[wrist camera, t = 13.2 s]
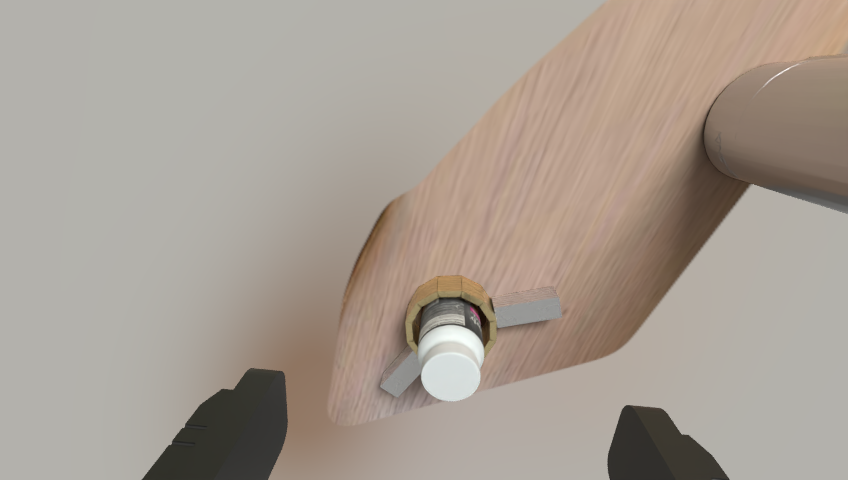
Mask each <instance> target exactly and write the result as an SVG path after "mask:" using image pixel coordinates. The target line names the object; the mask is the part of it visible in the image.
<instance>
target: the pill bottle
mask: <svg viewBox="0 0 848 480" xmlns="http://www.w3.org/2000/svg"><path fill="white" fill-rule="evenodd" d="M417 355H418V361H419V364H420V366H421V381H422V384H423V386H424V388H425V389H426V390H427V392H428V393H429V394H431V395H432V396H433V397H435V398H437V399H440V400H443V401H459V400H463V399H465V398H467V397H469V396H471V395H472V394H473V393H474V392H475V391H476V389H477V388H478V386H479V383H480V368H481V366H482V364H483V360H484V344H483V338H482V331H481V323H480V316H479V311H478V307H477V305H476V304H474V303H472V302H470V301H468V300H466V299H464V298H462V297H439V298H437V299H435V300H433V301H432V302H430V303H428V304H426V305H424V308H423V312H422V317H421V326H420V334H419V341H418V352H417Z"/></svg>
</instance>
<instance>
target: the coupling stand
mask: <svg viewBox="0 0 848 480" xmlns="http://www.w3.org/2000/svg"><path fill="white" fill-rule="evenodd" d="M439 297H462V298H464V299H466V300H468V301H470V302H472V303H474V304H476V305H478V306H480V308H481V309H482V311H483V312H484V314H485V315H486V317H487V322H486V323H485V325H484V326H483V328H482V329H481V331H482V338H483V344H484V358H485V357H486V355H487V354H488V352H489V351H490V350H491V348H492V347H493V345H494V344H495V342H496V325H497V328H501V327H507V326H513V325H519V324H525V323H531V322H538V321H544V320H550V319H556V318H562V316H561V308H560V300H559V296H558V294H557V292H556V290H555V289H554V287H553V286H550V287H545V288H539V289H533V290H527V291H522V292H516V293H510V294H504V295H499V296H493V297H491V298H492V301H491V299H490V298H489V296H488V295H487V293H486V292H485V290H484V289H483V287H482V286H481V285H479V284H477V283H475V282H473V281H471V280H469V279H467V278H465V277H463V276H437V277H435V278H434V279H432V280H430V281H428V282H426V283H425V284H423V285H421V286H419V287H418V289H417V290H416V292H415V294H414V296H413V297H412V299H411V301H410V303H409V304H408V310H407V316H406V321H405V324H406V337H407V343H408V344H409V345H408V346H407V347H406V348H405V349H404V350H403V352H402V353H401V354H400V355H399V356H398V357H397V358H396V359H395V360H394V362H393V363H392V364H391V365H390V366H389V367H388V368H387V369H386V370H385V372H384V373H383V376H382V381H381V385H380V387H381V388H382V389H384V390H386V391H387V392H389V393H390V394H392V395H393V396H395V397H397V398H398V397H399V396H400V395H401V394H402V392H403V391H404V390H405V389H406V388H407V387H408V386H409V385H410V384H411V383H412V382H413V381H414V380H415V379H416V378H417V377H418V376H419V375H420V373H421V366H420V364H419V361H418V355H417V352H418V341H419V334H420V328H419V327H418V325H417V324H416V322H415V317H416V315H417V314H418V312H419V310H420V308H421V307H422V306H424V305H426V304H428V303H430V302H432V301H433V300H435V299H437V298H439Z"/></svg>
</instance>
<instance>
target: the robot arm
mask: <svg viewBox="0 0 848 480" xmlns="http://www.w3.org/2000/svg"><path fill="white" fill-rule="evenodd" d="M704 145H705V148H706V152H707V155H708V157H709V159H710V161H711V162H712V164H713V165H714V166H715V167H716V168H717V169H718V170H719V171H720V172H722V173H724V174H726V175H727V176H729V177H732V178H735V179H738V180H742V181H745V182H748V183H751V184H754V185H757V186H761V187H764V188H766V189H770V190H773V191H776V192H779V193H783V194H785V195H789V196H792V197H795V198H798V199H802V200H805V201H808V202H811V203H815V204H818V205H821V206H824V207H827V208H830V209H834V210H837V211H840V212H843V213H846V214H848V54H839V55H827V56H816V57H809V58H807V59H806V60H804V61H792V62H779V63H772V64H766V65H763V66H760V67H757V68H754V69H752V70H750V71H748V72H746V73H745V74H743V75H741V76H739V77H738V78H737V79H736V80H735V81H733V82H732V83H731V84H730V85H728V86H727V88H726V89H725V90H724V91H723V92H722V93H721V94H720V95H719V97H718V98H717V100H716V101H715V103H714V105H713V106H712V108H711V110H710V113H709V115H708V118H707V120H706V125H705V130H704ZM286 403H287V402H286V386H285V375H284V373H283V372H282V371H275V370H265V369H254V368H251V369H249V370H248V371H247V372H246V373H245V374H244V376H243V377H242V378H241V380H240V382H239V383H238V384H237V386H236V387H235V389H234V390H228V389H221V390H220V391H219V392H217V393H216V394H215V395H213V396H212V397H210V398H209V399H208V400H206V401H205V402H203V403H202V404H201V405H200V406H199V407H198V409H197V410H196V411H195V412H194V414H193V415H192V416H191V418H190V419H189V420H188V421H187V423H186V424H185V428H182V429H181V430H180V432H179V433H178V434H177V435H176V437H175V438H174V439H173V441H172V444H171V445H169V446H168V447H167V448H166V449H165V451H164V452H163V454H162V455H161V456H160V457H159V459H158V460H157V461H156V462H155V464H154V465H153V466H152V467H151V469H150V470H149V471H148V473H147V474H146V475H145V476H144V478H143V479H142V480H268V478H269V476H270V473H271V471H272V469H273V467H274V465H275V463H276V460H277V458H278V456H279V454H280V452H281V450H282V447H283V444H284V441H285V437H286V432H287V422H288V419H287V404H286ZM608 473H609V478H610V480H729V478H728V477H727V475H726V474H725V473H724V471H723V470H722V468H721V467H720V466H719V464H718V463H717V462H716V460H715V459H714V457H713V456H712V455H711V454H710V453H709V452H707V451H706V450H705V449H704V448H703V447H702V446H700V445H699V444H698V443H697V442H696V441H695V440H693V439H692V438H691V437H690V436H689V435H682V434H681V433H680V432H679V430H678V429H677V427H676V426H675V424H674V423H673V421H672V420H671V418H670V417H669V416H668V414H667V413H666V412H665V411H664V410H663V409H661V408H652V407H641V406H631V405H626V406H625V407H624V408H623V409H622V412H621V415H620V418H619V421H618V424H617V428H616V431H615V434H614V437H613V440H612V443H611V447H610V450H609V453H608Z"/></svg>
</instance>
